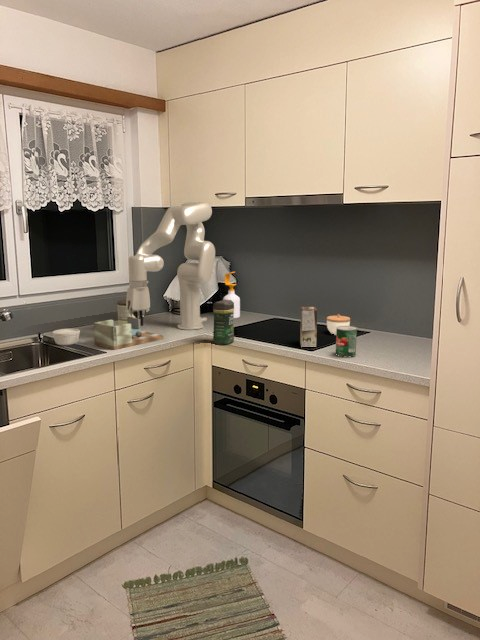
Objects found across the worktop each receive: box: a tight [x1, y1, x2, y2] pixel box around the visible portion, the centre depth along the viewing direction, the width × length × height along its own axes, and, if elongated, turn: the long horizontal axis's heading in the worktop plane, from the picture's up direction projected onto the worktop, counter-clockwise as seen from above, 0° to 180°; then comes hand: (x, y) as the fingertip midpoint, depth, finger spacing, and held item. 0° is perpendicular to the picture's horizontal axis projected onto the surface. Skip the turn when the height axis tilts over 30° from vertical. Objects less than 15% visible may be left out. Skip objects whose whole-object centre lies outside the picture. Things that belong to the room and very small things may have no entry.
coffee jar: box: [212, 299, 235, 345], centre depth 230 cm, size 10×8×19 cm
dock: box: [93, 319, 164, 351], centre depth 232 cm, size 26×14×10 cm, turn 138°
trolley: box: [127, 317, 142, 337], centre depth 231 cm, size 10×10×8 cm
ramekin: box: [52, 328, 81, 346], centre depth 231 cm, size 11×11×5 cm
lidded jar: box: [326, 313, 351, 336], centre depth 247 cm, size 11×11×9 cm
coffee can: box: [116, 299, 135, 326], centre depth 255 cm, size 10×10×14 cm
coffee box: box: [299, 305, 318, 348], centre depth 225 cm, size 9×6×16 cm
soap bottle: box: [222, 271, 241, 319], centre depth 286 cm, size 9×9×25 cm
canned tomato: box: [335, 325, 358, 357], centre depth 210 cm, size 8×8×11 cm
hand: (139, 325), depth 236 cm, fingers closed
